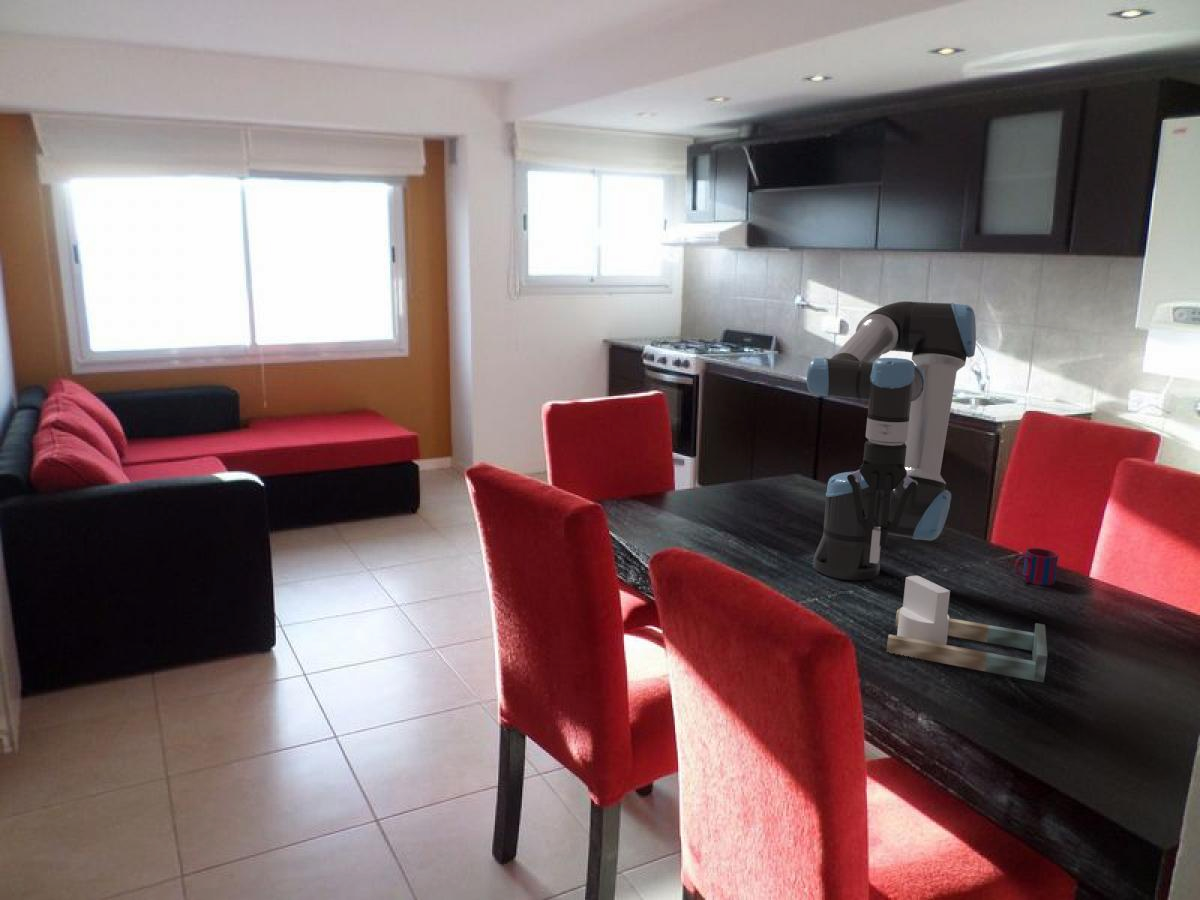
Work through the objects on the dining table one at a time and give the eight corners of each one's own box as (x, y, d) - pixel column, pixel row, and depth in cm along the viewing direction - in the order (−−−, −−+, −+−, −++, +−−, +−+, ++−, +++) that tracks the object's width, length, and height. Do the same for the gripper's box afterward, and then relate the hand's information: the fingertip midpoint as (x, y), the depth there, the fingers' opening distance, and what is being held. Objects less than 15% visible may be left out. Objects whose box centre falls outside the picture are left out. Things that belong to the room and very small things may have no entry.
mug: (1060, 585, 206) (1064, 557, 204) (1020, 586, 204) (1023, 558, 203) (1042, 575, 212) (1046, 547, 210) (1003, 576, 211) (1006, 548, 209)
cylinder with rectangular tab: (886, 637, 175) (892, 578, 173) (922, 630, 179) (928, 573, 176) (919, 656, 167) (926, 595, 165) (956, 648, 171) (963, 589, 168)
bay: (886, 652, 169) (889, 627, 168) (896, 623, 182) (898, 599, 181) (1043, 682, 158) (1047, 656, 157) (1041, 649, 172) (1044, 624, 170)
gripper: (847, 441, 168) (836, 561, 173) (920, 448, 163) (907, 572, 168) (853, 434, 175) (843, 550, 180) (924, 441, 169) (911, 560, 174)
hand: (874, 560), depth 174 cm, fingers closed
